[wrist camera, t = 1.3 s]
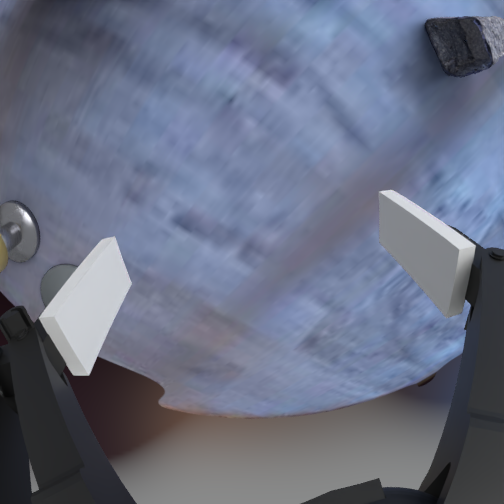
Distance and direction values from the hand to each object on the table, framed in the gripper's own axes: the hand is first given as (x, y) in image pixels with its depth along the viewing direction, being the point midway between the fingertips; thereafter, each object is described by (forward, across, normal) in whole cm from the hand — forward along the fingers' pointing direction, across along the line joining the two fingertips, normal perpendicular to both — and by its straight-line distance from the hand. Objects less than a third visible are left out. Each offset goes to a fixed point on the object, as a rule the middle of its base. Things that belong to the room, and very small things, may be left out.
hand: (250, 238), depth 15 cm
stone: (+26, +33, +15) cm, 45 cm away
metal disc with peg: (+25, -37, -2) cm, 45 cm away
